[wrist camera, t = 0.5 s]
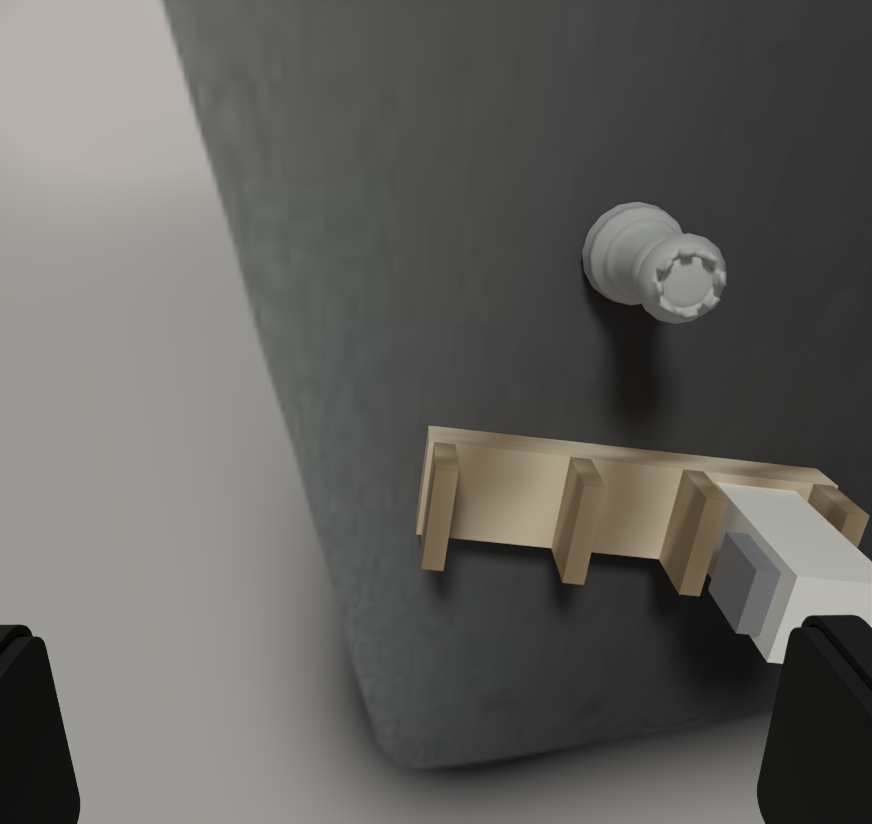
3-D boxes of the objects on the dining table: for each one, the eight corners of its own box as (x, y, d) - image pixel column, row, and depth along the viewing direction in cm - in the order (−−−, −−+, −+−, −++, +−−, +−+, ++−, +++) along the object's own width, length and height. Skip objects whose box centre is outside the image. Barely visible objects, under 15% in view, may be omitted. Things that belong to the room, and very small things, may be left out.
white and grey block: (795, 491, 35) (898, 586, 27) (771, 561, 36) (863, 670, 29) (695, 480, 35) (772, 573, 27) (675, 552, 36) (742, 659, 28)
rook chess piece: (669, 302, 34) (741, 348, 26) (574, 298, 33) (619, 344, 26) (685, 203, 32) (766, 221, 24) (585, 198, 32) (636, 216, 24)
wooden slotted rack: (816, 468, 37) (874, 516, 32) (787, 553, 38) (839, 610, 34) (428, 425, 35) (429, 468, 31) (416, 514, 37) (415, 568, 32)
